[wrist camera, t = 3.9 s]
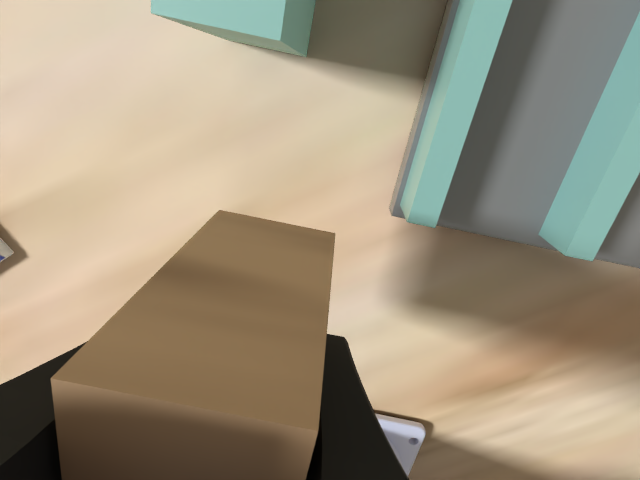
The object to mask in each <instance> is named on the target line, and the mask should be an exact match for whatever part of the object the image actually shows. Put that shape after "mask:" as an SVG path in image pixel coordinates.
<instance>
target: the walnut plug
mask: <svg viewBox="0 0 640 480" xmlns="http://www.w3.org/2000/svg"><path fill="white" fill-rule="evenodd" d="M334 243H335V233H331V232H326V231H321V230H316V229H311V228H306V227H301V226H296V225H291V224H286V223H281V222H276V221H271V220H266V219H261V218H256V217H251V216H247V215H242V214H237V213H232V212H227V211H222V210H219V211H218V212H217V213H216V214H215V215H214V216H213V217H212V218H211V219H210V220H209V221H208V222H207V223H206V224H205V225H204V226H203V227H202V228H201V229H200V230H199V231H198V232H197V233H196V234H195V235H194V236H193V237H192V238H191V239H190V240H189V241H188V242H187V243H186V244H185V245H184V246H183V247H182V248H181V249H180V250H179V251H178V252H177V253H176V254H175V255H174V256H173V257H172V258H171V259H170V260H169V261H168V262H167V263H166V264H165V265H164V266H163V267H162V268H161V269H160V270H159V271H158V272H157V273H156V274H155V275H154V276H153V277H152V278H151V279H150V280H149V281H148V282H147V283H146V284H145V285H144V286H143V287H142V288H141V289H140V290H139V291H138V292H137V293H136V294H135V295H134V296H133V297H132V298H131V299H130V300H129V301H128V302H127V303H126V304H125V305H124V306H123V307H122V308H121V309H120V310H119V311H118V312H117V313H116V314H115V315H114V316H113V317H112V318H111V319H110V320H109V321H108V322H107V323H106V324H105V325H104V326H103V327H102V328H101V329H100V330H99V331H98V332H97V333H96V334H95V335H94V336H93V337H92V338H91V339H90V340H89V341H88V342H87V343H86V344H85V345H84V346H83V347H82V348H81V349H80V350H79V351H78V352H77V353H76V354H75V355H74V356H73V357H72V358H71V359H70V360H69V361H68V362H67V363H66V364H65V365H64V366H63V367H62V368H61V369H60V370H59V371H58V372H57V373H56V374H55V375H53V376H52V377H51V386H52V395H53V404H54V413H55V423H56V432H57V441H58V450H59V459H60V468H61V477H62V480H306V477H307V473H308V469H309V465H310V461H311V457H312V453H313V450H314V446H315V442H316V438H317V434H318V429H319V417H320V405H321V394H322V382H323V371H324V359H325V347H326V336H327V324H328V312H329V301H330V289H331V278H332V266H333V254H334Z"/></svg>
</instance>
